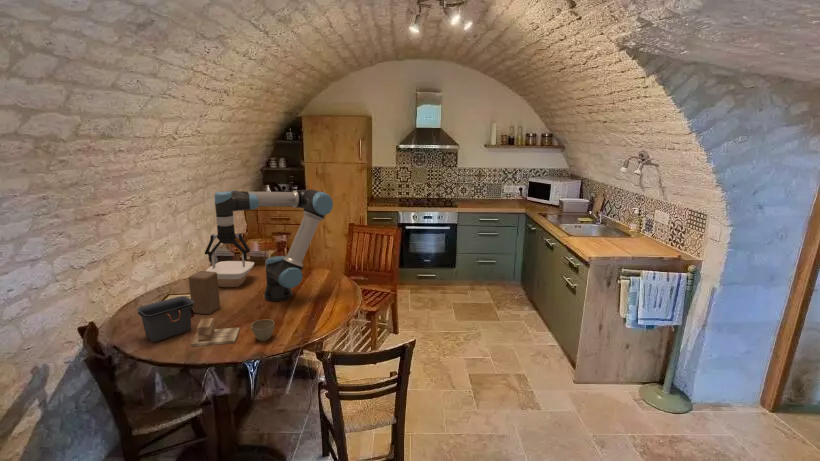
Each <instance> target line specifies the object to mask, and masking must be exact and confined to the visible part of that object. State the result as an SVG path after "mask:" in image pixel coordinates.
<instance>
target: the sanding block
mask: <svg viewBox="0 0 820 461" xmlns="http://www.w3.org/2000/svg"><path fill="white" fill-rule="evenodd" d="M215 329H216V328H215V319H214V317H211V318H210V317H209V318H208V317H207V318H201V320H200V322H199V323H198V325H197V327H196V334H197V333H198V341H209V340H211V338H212V336H213V334H214V332H215Z"/></svg>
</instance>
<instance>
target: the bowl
mask: <svg viewBox="0 0 820 461" xmlns="http://www.w3.org/2000/svg"><path fill="white" fill-rule="evenodd" d="M254 266H255V262H254V261H246V260H245V267H243V264H242V260H224V261H219V262H215V268H214V269H213V267H212V265H211V266H210V267H208V268H207V269H206V270H205V271H209V272H216V273H217V277H218V288H219V287H220V288H238V287H240V286H241V285H243V284H244V283H245V281H246V279H247V276H248V274H249V272H250V271H251V270H252V268H253V267H254Z"/></svg>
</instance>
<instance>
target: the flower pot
mask: <svg viewBox="0 0 820 461" xmlns="http://www.w3.org/2000/svg"><path fill="white" fill-rule="evenodd" d="M250 327H251V330H252V332H253V334H254V336H255V337H256V339H257V340H258V341H260V342H265V341H268V340H270V338H271V337H272V335H273V333H274V330H275V321H274V320H272V319H270V318H269V319H267V318H266V319H258V320H256V321H254V322H252V323H251V325H250Z"/></svg>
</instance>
